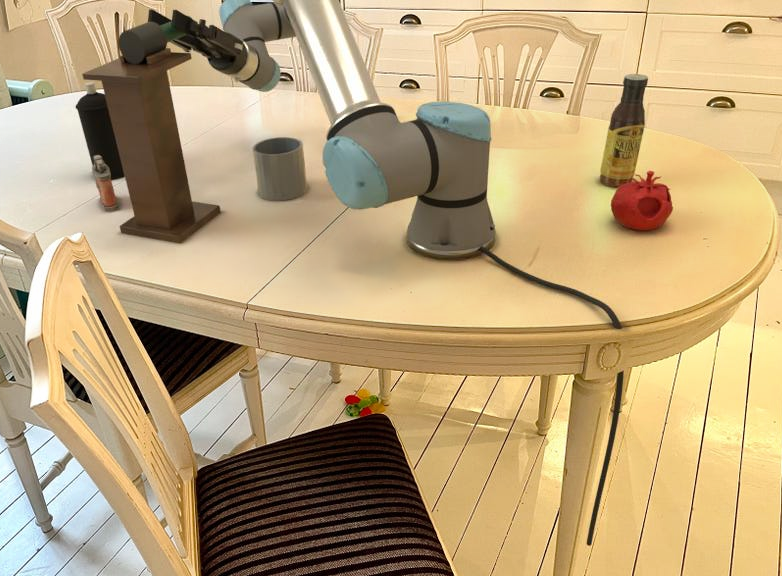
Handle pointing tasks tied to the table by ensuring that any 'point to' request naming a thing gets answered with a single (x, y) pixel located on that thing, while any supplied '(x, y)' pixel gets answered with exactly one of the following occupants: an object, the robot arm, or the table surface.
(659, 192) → the red hollow tomato
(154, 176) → the stand
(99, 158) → the lighter
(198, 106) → the table surface
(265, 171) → the steel cup
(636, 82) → the sauce bottle
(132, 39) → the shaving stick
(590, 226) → the table surface
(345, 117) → the robot arm
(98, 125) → the aerosol can
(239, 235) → the table surface
